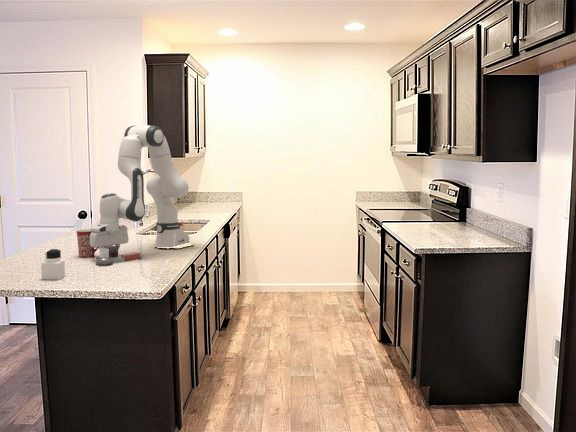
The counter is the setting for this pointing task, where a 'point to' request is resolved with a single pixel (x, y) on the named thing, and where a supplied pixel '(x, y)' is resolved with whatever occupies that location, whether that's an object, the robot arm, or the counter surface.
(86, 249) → the mug
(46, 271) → the medicine bottle
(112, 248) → the matte grey cube
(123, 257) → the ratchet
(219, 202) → the counter surface
